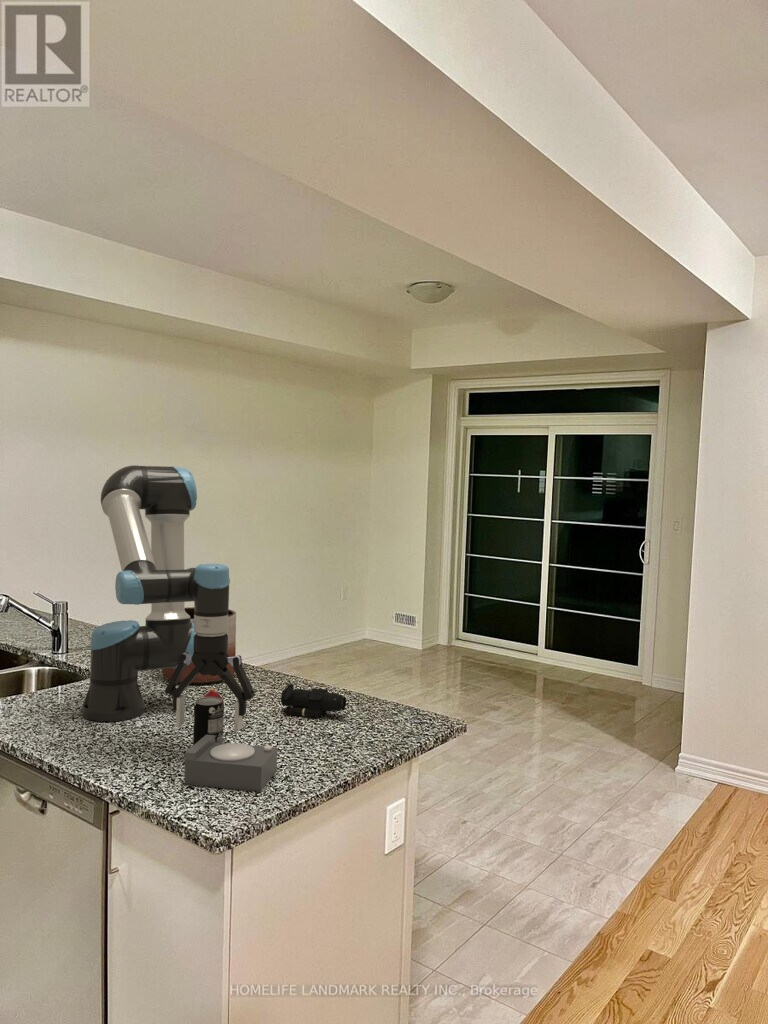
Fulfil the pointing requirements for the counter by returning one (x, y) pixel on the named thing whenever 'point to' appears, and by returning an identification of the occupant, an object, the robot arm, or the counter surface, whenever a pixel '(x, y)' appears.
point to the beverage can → (208, 719)
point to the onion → (214, 694)
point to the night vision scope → (311, 701)
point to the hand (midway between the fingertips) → (208, 727)
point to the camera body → (229, 765)
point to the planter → (231, 652)
